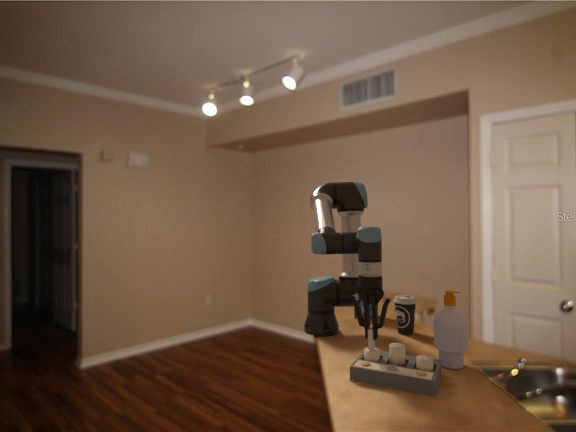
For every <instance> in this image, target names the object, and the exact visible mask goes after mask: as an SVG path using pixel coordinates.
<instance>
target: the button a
mask: <svg viewBox="0 0 576 432" xmlns="http://www.w3.org/2000/svg"><path fill="white" fill-rule="evenodd" d="M363 351H364V360H367V361H374V362H380V351H381V350H380V349H379V348H377V347H375V349H374V350H373V351H371V350H368V346H367V347H365V348H363Z"/></svg>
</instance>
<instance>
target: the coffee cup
mask: <svg viewBox="0 0 576 432" xmlns="http://www.w3.org/2000/svg"><path fill="white" fill-rule="evenodd" d="M392 302H393V304H394V310H395V321H396V331H397V333H398V334H400V335H404V336H406V335H407V336H410V335H414V331H415V320H416V319H415V317H416V316H415V315H416V304H417V303H418V302H417V299H416V298H415V296H413V295H407V294H401V295H400V294H399V295H395V296H394V299H393V300H392Z"/></svg>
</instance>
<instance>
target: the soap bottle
mask: <svg viewBox="0 0 576 432" xmlns="http://www.w3.org/2000/svg"><path fill="white" fill-rule="evenodd" d="M454 294H461V291H456V290H455V291H454V290H445V294H443V310H440V311H438V312H437V313H436V314H435V315H434V318H433V346H434V349H436V350H437V351H438V360H442V368H446V369H449V370H460V369H462V368H463V367H464V366H465V358H464V357H465V356H464V353H467V352H468V351H469V333H468V332H469V331H468V329H469V328H468V323H467V319H466V317H465V315H463V313H461V312H460V311H457V303H456V301H457V300H456V299H457V297H456V295H454Z"/></svg>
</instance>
